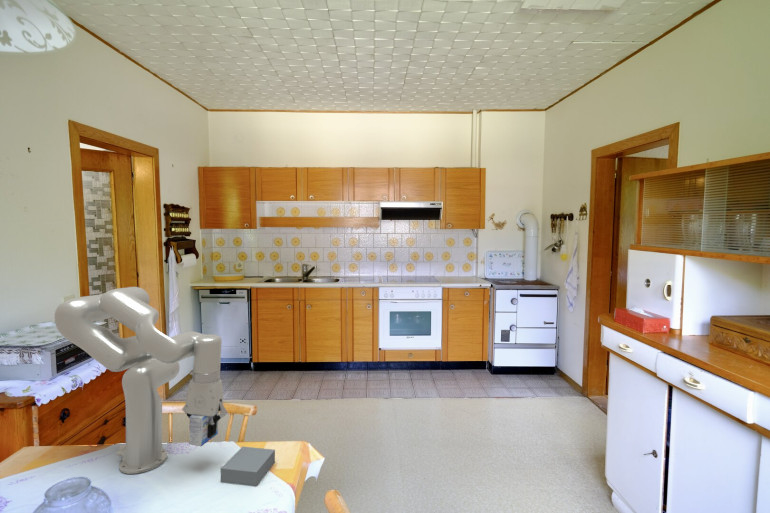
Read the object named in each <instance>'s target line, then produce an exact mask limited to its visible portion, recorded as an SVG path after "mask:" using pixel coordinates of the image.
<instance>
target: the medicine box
mask: <svg viewBox="0 0 770 513" xmlns="http://www.w3.org/2000/svg"><path fill="white" fill-rule="evenodd" d="M219 414H220V411H218V415H219ZM188 420H189V421H188V423H189V424H188V445H189V446H190V445H192V446H195V447H203V446H205V445H206V444H207V443H208V442H209V441H211V439H213V438H214V437H216V436H218V433H219V432H218V431H219V421H217V430H216V433H215V434H214V435H213V436H212V437H211V438H208V425H209V424H210V421H209V417H207V416H200V415H192V416H190V419H188Z"/></svg>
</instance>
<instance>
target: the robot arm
mask: <svg viewBox="0 0 770 513" xmlns="http://www.w3.org/2000/svg"><path fill="white" fill-rule="evenodd" d="M150 301H151V300H150V295H149V293H148V292H147V291H146V290H145V289H144V288H141V287H139V286H127V287H120V288H115V289H114V288H113V289H110V290H108V291H106V292H105V293H102V294H101V293H100V294H94V295H92V294H91V295H87V296H86V295H85V296H79V297H78V296H77V297H73V298H70V299H68V300H66V301H63V302H62V303H60V304H58V306H57V307H56V309H55V310H54V323H55V327H56V329H57V330H58V332H59V334H60V335H62V337H63V338H64V339H66V341H69V342H70V343H72V344H73V345H75V346H77V347H78V348H80V349H81V350H83V351H84V352H85V353H86V354H88V355H89V356H90V357H91V358H92V359H94V360H95V361H96V362H98V363H99V364H100V365H102V366H103V367H104V368H105V369H107V370H109V371H110V372H112V373H113V372H115V373H117V372H123V371H125V370H126V371H125V372H124V374H123V376H122V378H121V386H122V390H123V395H124V402H125V444H121V445H120V446H119V448H118V451H117V450H116V453H115V455H116V457H117V456H119V457H120V456H121V457H122V460H121V461H120V463H119V465H118V468H119V471H120V472H121V473H123V474H129V475H133V474H141V473H145V472H149V471H150V470H154V469H156V468H158V467H159V466H161V465H162V464H164V462H166V460H167V459H168V454H169V453H168V451H167V450H166V449H164V448H163V401H162V398H161V395H160V394H159V391H158V388H160V387H161V386H163V385H165V384H168V383H169V382H171V381H172V380H174V379H175V378H176V377H178V374H179V372H180V367H181V366H180V363H179V362H180V361H183V360H185V359H187V358H189V357H193V364H192V370H190V371H189V375H191V376H192V379H190V381H189V383H188V386H187V389H186V390H187V391H186V396H185V397H186V398H185V404H184V406H183V407H182V409H181V411H182V412H184V413H185V414H186V416H187V417H188V420H190V416H192V415H200V416H207V417H209V421H210V424H209V425H208V438H211V437H212V436H213V435H214V434H215V433H216V430H217V421H218V422H219V421H220V420H221V419H222V418H224V417H225V416H227V415H228V413H229V412H228V410H227V409H226V407H225V406H224V389H223V380H222V379H221V362H222V361H221V359H222V338H221V336H220V335H218V334H211V333H210V334H204V333H201V332H198V331H191V330H190V331H185V332H182V333H179V334H176V335H173V336H171V337H170V336H168V335H166V334H165V333H163V332H162V331H160V330H158V328H157V327H156V326H155V325H156V323H157V322H158V320H159V318H160V312H159V311H158V310H157V308H155V307H154V306H153V307H152V306H151V305H150ZM106 319H107V320H108V319H113V320H115V321H117V322H118V323H119V324H121V325H123V326H124V327H126V328H128V329H129V330H131V331H132V332H134V334H135V335H132V336H129V337H124V338H123V337H120V336H118V335H117V334H116V333H114V332H113V331H112V330H110V329H109V328H107V327H106V326H104V325H99V324H97V323H95V322H98V321H102V320H106ZM218 411H219V415H218Z"/></svg>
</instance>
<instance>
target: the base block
mask: <svg viewBox="0 0 770 513" xmlns="http://www.w3.org/2000/svg"><path fill="white" fill-rule="evenodd" d="M275 462H276V449H271V448H261V447H251V446H241V447H240V448H239V449H238V450H237V451H236V453H234V454H233V455H232V456H231V457H230V458H229V460H228V461H226V462H225V463H224V464H223V465H222V466H221V468H220V483H225V484H233V485H234V484H236V485H243V486H253V487H257V486H258V485H259V484H260V482H261V481H262V480H263V479H264V478H265V476H266V474H267V473H268V471H270V469H271V468H272V467H273V465H274V464H275Z"/></svg>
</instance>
